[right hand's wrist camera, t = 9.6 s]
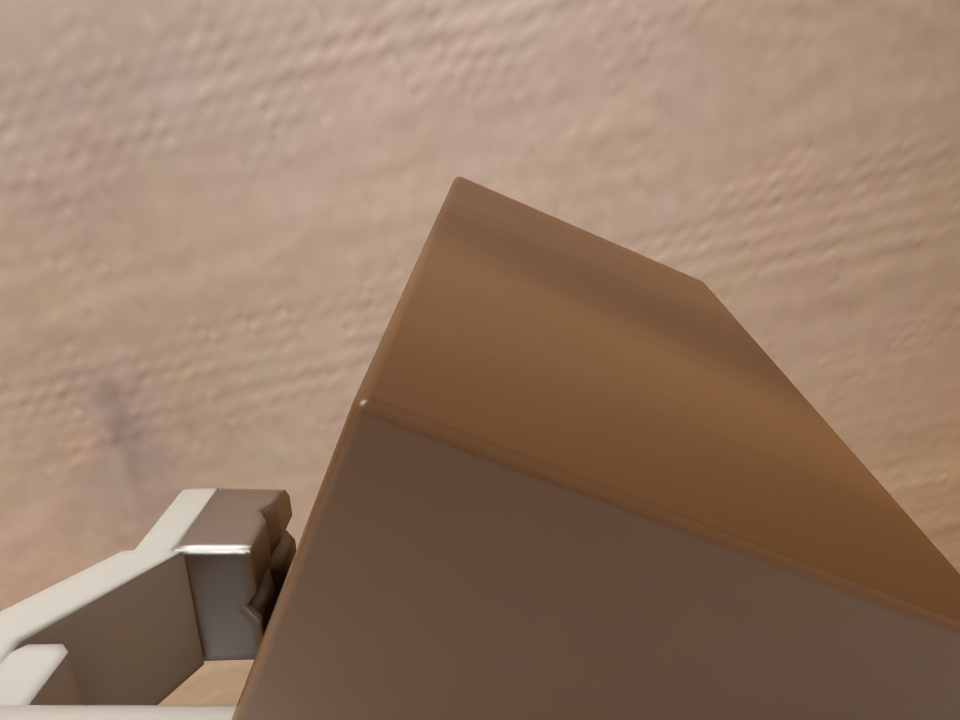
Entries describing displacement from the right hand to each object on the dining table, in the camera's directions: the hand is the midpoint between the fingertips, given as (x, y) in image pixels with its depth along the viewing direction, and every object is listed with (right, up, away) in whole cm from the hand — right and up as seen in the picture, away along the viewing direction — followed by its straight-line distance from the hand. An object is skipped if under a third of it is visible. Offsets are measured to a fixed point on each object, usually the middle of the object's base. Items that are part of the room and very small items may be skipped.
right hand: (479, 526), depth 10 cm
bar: (-3, -5, +6) cm, 8 cm away
